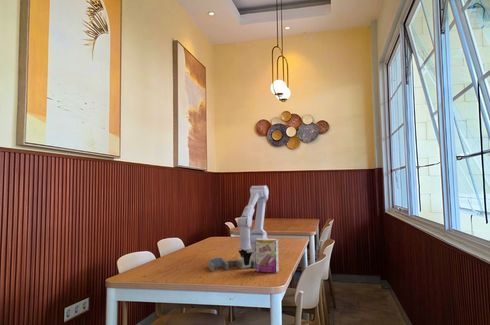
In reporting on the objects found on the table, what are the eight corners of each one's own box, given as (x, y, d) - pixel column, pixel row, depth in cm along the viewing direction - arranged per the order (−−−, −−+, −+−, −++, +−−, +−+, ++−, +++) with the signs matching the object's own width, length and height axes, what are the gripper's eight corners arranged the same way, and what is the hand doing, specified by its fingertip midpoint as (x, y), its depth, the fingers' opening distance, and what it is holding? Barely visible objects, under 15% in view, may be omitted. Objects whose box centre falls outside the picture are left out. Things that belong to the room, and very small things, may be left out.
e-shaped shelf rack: (249, 263, 201) (248, 254, 202) (255, 268, 189) (255, 258, 190) (208, 267, 195) (208, 257, 195) (212, 271, 183) (212, 262, 183)
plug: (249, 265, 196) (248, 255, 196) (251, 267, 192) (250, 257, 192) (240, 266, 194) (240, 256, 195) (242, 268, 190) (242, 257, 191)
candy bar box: (255, 272, 180) (254, 239, 181) (258, 270, 185) (257, 238, 186) (276, 273, 177) (275, 240, 178) (279, 271, 181) (278, 238, 182)
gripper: (234, 237, 200) (235, 262, 199) (241, 241, 186) (242, 267, 185) (246, 236, 202) (247, 261, 201) (254, 240, 188) (255, 266, 187)
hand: (245, 264), depth 193 cm, fingers closed on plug, 4 cm apart
